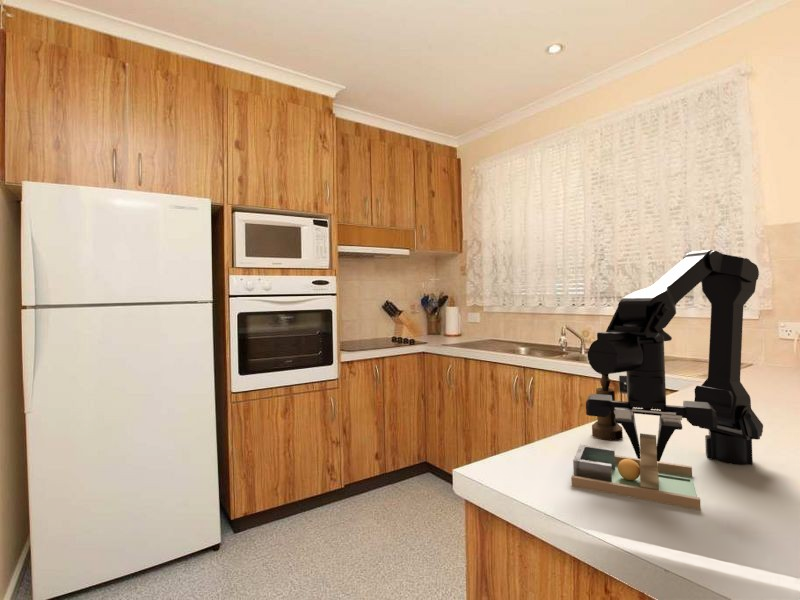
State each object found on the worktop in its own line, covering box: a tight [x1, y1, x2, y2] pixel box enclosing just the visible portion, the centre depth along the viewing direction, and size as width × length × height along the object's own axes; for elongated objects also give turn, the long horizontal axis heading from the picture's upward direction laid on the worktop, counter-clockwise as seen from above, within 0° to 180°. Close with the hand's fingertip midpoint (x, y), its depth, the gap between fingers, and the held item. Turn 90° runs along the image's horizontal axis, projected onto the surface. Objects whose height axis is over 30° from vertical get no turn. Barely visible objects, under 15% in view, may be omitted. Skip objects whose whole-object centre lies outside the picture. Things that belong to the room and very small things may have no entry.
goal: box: [572, 443, 616, 482], centre depth 76 cm, size 6×9×4 cm, turn 149°
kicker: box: [639, 433, 659, 490], centre depth 72 cm, size 3×6×8 cm, turn 149°
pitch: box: [571, 454, 702, 511], centre depth 73 cm, size 18×14×2 cm
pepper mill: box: [591, 374, 624, 441], centre depth 99 cm, size 7×6×18 cm
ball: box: [618, 459, 640, 480], centre depth 73 cm, size 4×4×4 cm
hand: (648, 459), depth 72 cm, fingers open, 2 cm apart
